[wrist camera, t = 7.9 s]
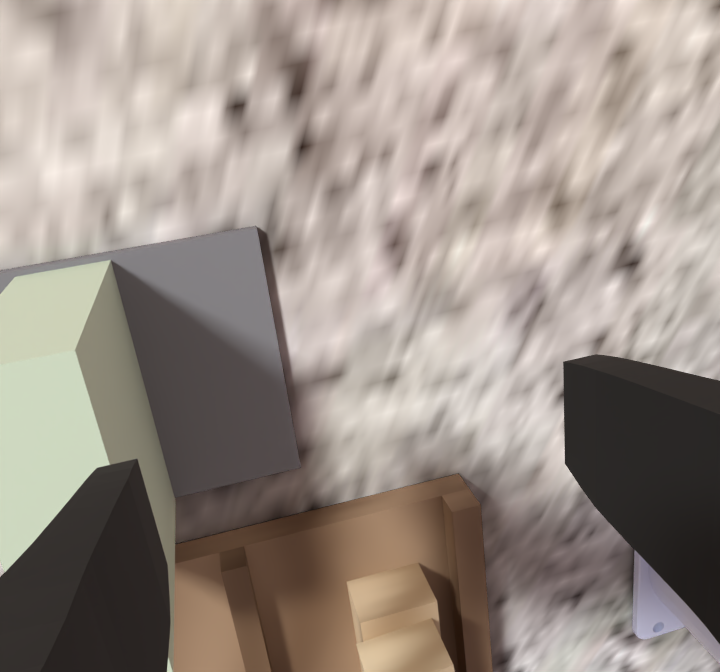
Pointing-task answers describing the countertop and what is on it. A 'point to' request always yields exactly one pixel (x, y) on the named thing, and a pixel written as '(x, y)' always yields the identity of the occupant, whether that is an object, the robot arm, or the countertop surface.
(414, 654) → the offcut stack
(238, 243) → the pad
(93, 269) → the pale green block
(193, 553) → the walnut rack
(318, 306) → the countertop surface
